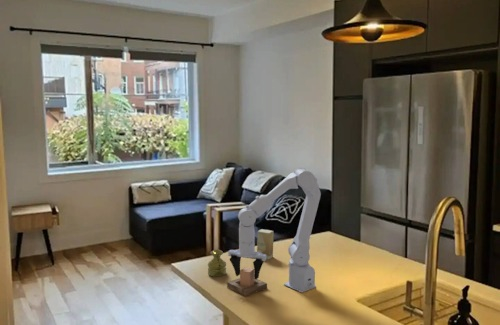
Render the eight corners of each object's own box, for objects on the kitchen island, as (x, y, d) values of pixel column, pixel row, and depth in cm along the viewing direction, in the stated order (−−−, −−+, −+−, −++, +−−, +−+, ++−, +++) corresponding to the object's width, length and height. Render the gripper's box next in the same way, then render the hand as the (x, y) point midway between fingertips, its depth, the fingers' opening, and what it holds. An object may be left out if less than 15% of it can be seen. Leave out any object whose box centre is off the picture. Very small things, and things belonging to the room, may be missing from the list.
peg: (254, 286, 165) (254, 268, 164) (250, 290, 162) (249, 272, 161) (244, 285, 167) (244, 267, 166) (240, 288, 163) (240, 270, 162)
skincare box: (256, 257, 197) (256, 231, 196) (260, 254, 201) (260, 228, 200) (269, 259, 195) (269, 232, 193) (273, 257, 198) (273, 230, 197)
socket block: (267, 288, 163) (267, 283, 163) (245, 296, 157) (245, 290, 156) (248, 280, 171) (248, 275, 171) (227, 287, 165) (227, 282, 164)
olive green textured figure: (218, 278, 173) (217, 253, 172) (204, 274, 178) (203, 250, 177) (230, 272, 179) (229, 249, 178) (216, 269, 184) (215, 245, 182)
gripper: (269, 240, 163) (269, 275, 164) (234, 236, 169) (234, 270, 170) (261, 245, 156) (262, 282, 158) (225, 241, 162) (226, 276, 164)
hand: (247, 276), depth 164 cm, fingers open, 7 cm apart
